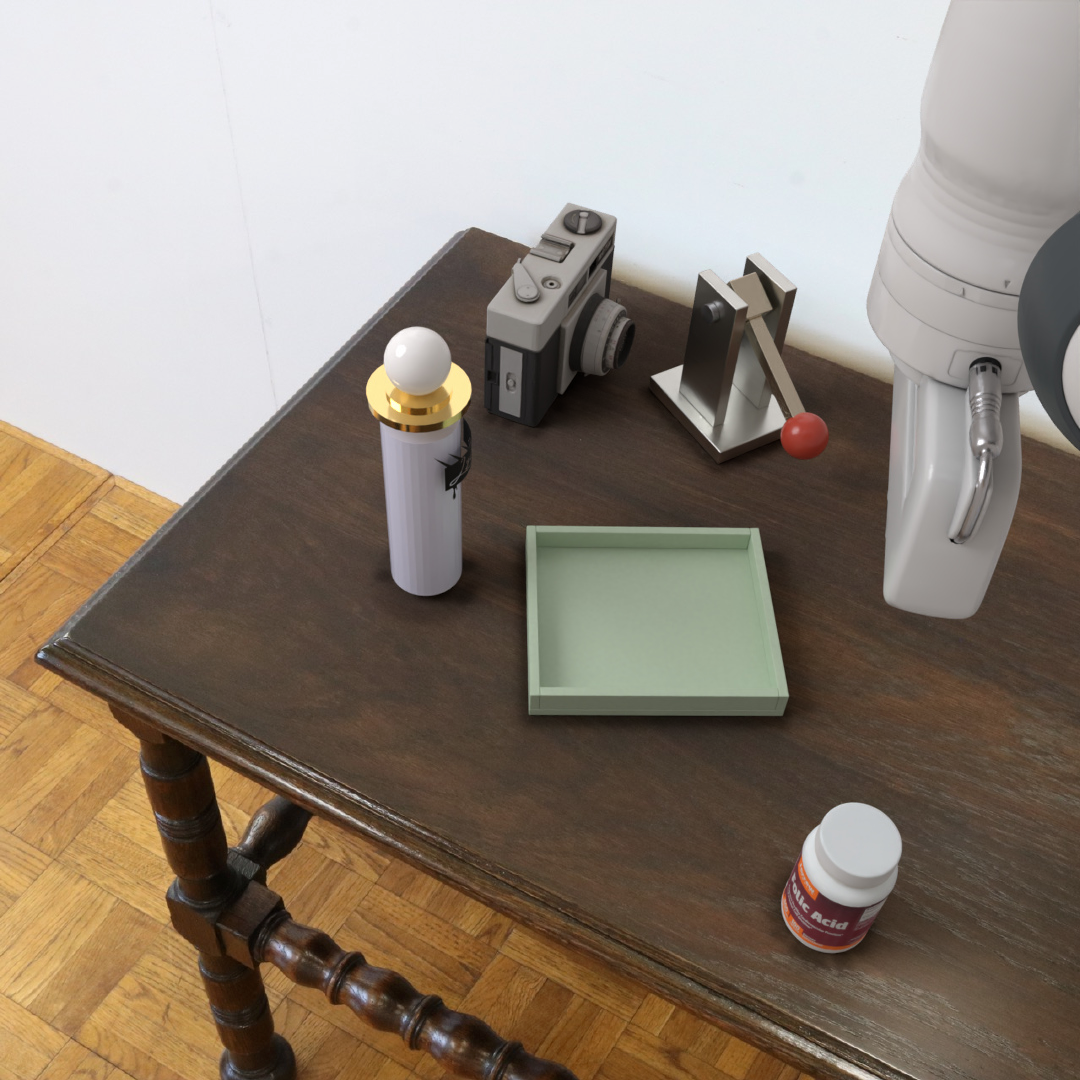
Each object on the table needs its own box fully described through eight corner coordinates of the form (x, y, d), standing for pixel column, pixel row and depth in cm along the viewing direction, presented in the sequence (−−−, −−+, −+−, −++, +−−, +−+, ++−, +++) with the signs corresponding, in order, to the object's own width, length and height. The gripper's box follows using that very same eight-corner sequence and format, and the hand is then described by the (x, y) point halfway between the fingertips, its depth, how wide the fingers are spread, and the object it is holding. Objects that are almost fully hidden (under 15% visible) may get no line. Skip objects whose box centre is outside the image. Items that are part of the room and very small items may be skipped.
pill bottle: (761, 911, 67) (791, 836, 61) (816, 855, 70) (850, 777, 63) (833, 974, 65) (872, 903, 59) (887, 914, 67) (929, 839, 61)
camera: (583, 447, 90) (593, 338, 82) (479, 410, 92) (480, 301, 84) (654, 333, 98) (669, 225, 91) (557, 302, 100) (564, 194, 93)
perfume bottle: (371, 601, 80) (347, 360, 65) (396, 535, 84) (379, 292, 68) (459, 618, 79) (456, 379, 64) (480, 550, 83) (482, 309, 68)
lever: (820, 456, 87) (845, 443, 84) (783, 471, 86) (807, 459, 83) (743, 285, 87) (764, 267, 84) (705, 298, 86) (726, 280, 83)
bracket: (796, 432, 92) (831, 302, 83) (717, 464, 89) (745, 334, 80) (724, 359, 97) (749, 229, 88) (648, 388, 94) (666, 257, 85)
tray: (753, 548, 84) (758, 527, 82) (782, 716, 75) (789, 696, 74) (525, 546, 83) (526, 525, 82) (528, 715, 75) (530, 695, 73)
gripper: (1087, 487, 43) (972, 715, 53) (1056, 163, 56) (969, 396, 66) (898, 455, 43) (821, 686, 54) (911, 143, 57) (848, 377, 67)
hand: (903, 523), depth 60 cm, fingers closed
